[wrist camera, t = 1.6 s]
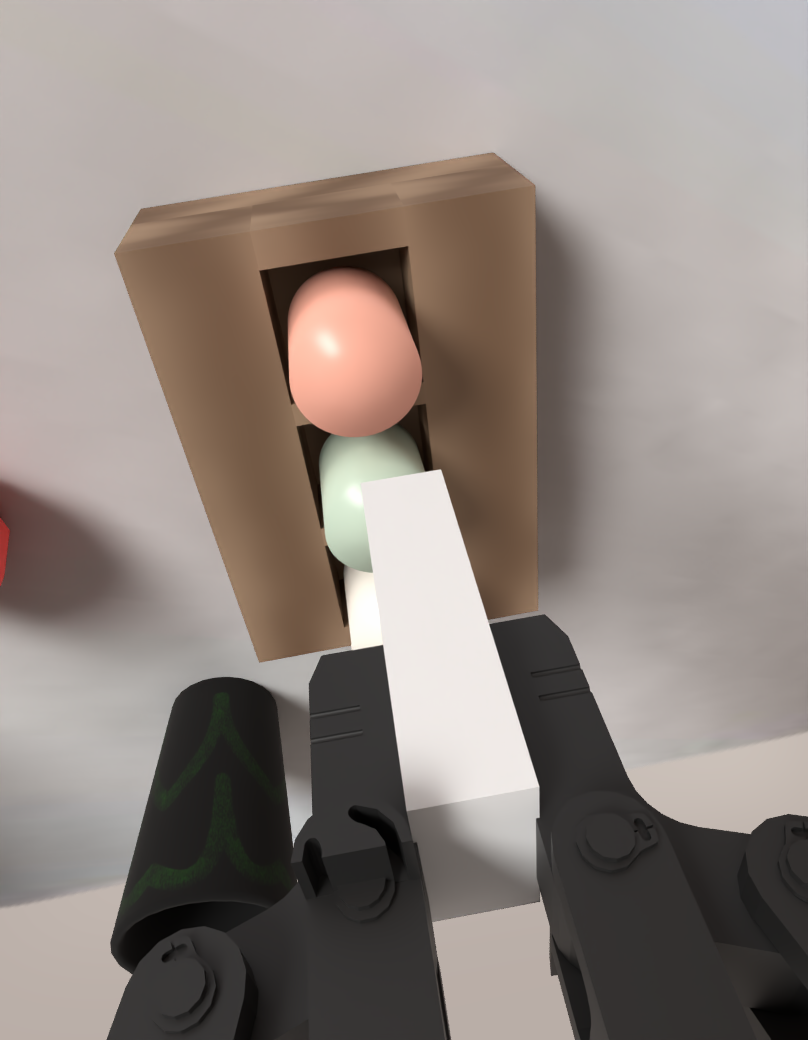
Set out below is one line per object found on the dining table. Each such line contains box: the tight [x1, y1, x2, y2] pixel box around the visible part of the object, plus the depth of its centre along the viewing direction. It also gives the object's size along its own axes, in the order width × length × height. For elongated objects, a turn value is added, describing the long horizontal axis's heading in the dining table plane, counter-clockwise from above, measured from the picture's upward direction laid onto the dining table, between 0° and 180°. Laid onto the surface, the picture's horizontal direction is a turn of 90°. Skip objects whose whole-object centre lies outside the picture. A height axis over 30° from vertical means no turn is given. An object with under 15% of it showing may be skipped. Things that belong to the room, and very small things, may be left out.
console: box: [114, 153, 538, 663], centre depth 28 cm, size 12×17×5 cm
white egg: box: [343, 565, 383, 650], centre depth 27 cm, size 4×4×4 cm
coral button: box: [287, 266, 422, 437], centre depth 21 cm, size 4×4×4 cm
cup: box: [111, 677, 297, 974], centre depth 35 cm, size 8×8×12 cm
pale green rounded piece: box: [319, 423, 425, 573], centre depth 24 cm, size 4×4×4 cm
